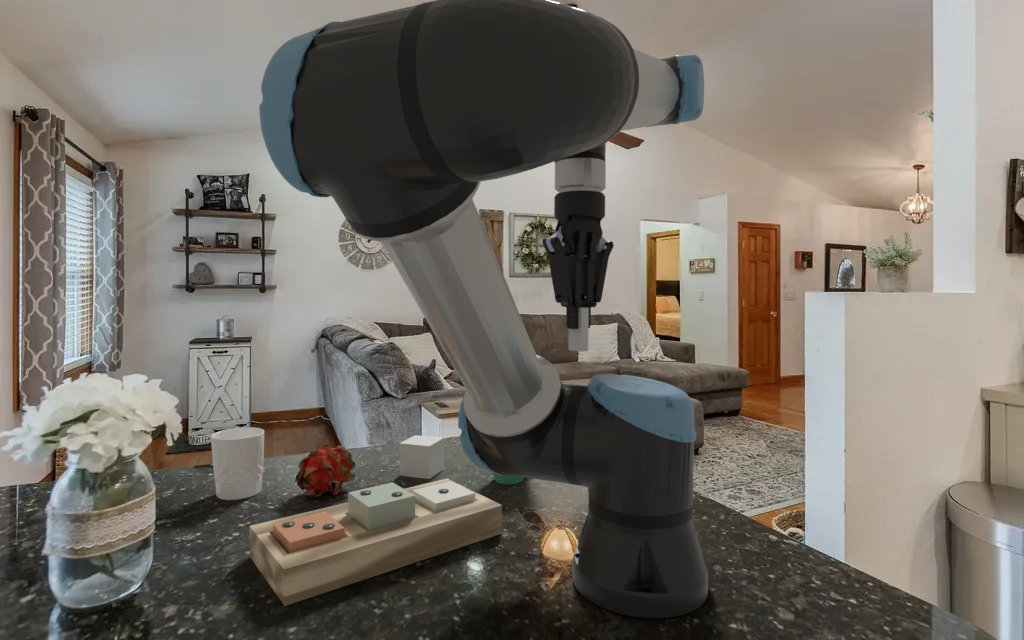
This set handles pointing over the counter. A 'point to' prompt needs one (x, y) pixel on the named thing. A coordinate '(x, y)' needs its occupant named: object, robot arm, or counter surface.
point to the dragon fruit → (325, 471)
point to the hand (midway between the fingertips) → (578, 350)
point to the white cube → (421, 456)
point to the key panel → (369, 546)
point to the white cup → (238, 462)
